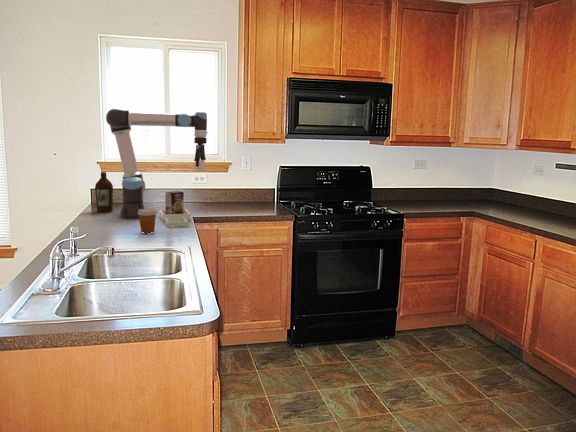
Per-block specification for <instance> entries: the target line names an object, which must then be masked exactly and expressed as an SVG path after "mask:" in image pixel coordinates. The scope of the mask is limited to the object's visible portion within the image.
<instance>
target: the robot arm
mask: <svg viewBox="0 0 576 432" xmlns="http://www.w3.org/2000/svg"><path fill="white" fill-rule="evenodd" d="M105 115H106V117H105V120H106V123H107V124H108V125H109V127H110V132H111V134H113V135H114V137H115V142H116V145H117V148H118V149H117V150H118V153H119V156H120V162H121V166H122V169H123V175H122V179H121V180H122V182H121V185H122V187H121V189H122V207H121V210H120V213H119V214H120V215H119V217H120V218H122V219H127V220H128V219H130V220H131V219H133V220H134V219H139V215H138V210H140V209H146V208H145V205H144V192H145V191H146V190H145V189H146V182H145V181H144V178H143V174H142V172H141V171H139V168H138V163H137V160H136V154H135V150H134V146H133V142H132V138H131V134H130V133H131V131H132V126H144V127H178V128H179V127H180V128H194V133H193V134H194V135H193V137H194V139H193V140H194V142H193V143H194V144H196V145H195V152H194V153H195V155H194V159H193V161H194V162H195V163H194V165H195V167H194V168H195V169H194V172H196V173H200V172H201V171H205V161H206V160H207V159H206V158H207V157H206V152H205V149H206V148H205V145H207V137H208V136H207V134H208V131H207V128H208V126H207V125H208V114H207V113H206V112H204V111H195V112H194V114H187V113H171V112H170V113H166V112H165V113H164V112H163V113H162V112H141V111H140V112H138V111H135V112H134V111H133V112H132V111H131V110H130V109H122V108H116V107H115V108H112V109H109V111H107V113H106V114H105Z"/></svg>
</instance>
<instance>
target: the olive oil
mask: <svg viewBox="0 0 576 432" xmlns="http://www.w3.org/2000/svg"><path fill="white" fill-rule="evenodd" d="M94 193H95V202H96V212H97V213H112V212H114V211H113V210H114V209H113V206H114V198H113V197H114V196H113V195H114V186H113V183H112V182H111V181H110V180H109V179H108V178H107V172H106V171H100V177H99V180H97V182H96V183H95V185H94Z"/></svg>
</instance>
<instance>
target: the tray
mask: <svg viewBox="0 0 576 432" xmlns="http://www.w3.org/2000/svg"><path fill="white" fill-rule="evenodd" d="M164 220H165V222H164V224H165V226H166V225H167V226H168V227H170V228H172V227H171V226H188V227H189V221H187V220H186V219H185V218H184V217H170V218H164ZM167 226H166V227H167ZM168 227H167V228H168Z"/></svg>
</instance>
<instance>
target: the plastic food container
mask: <svg viewBox="0 0 576 432" xmlns="http://www.w3.org/2000/svg"><path fill="white" fill-rule="evenodd" d="M158 211H159V213H158V215H159V219H160V220H161V221H162V222H163V221H165V220H164V218H170V217H184V218H185V219H186V220H187V221H188V222H189V221H191V217H192V216H191V212H189V210H187V209H186V208H184V214H166V209H159V210H158Z"/></svg>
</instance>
